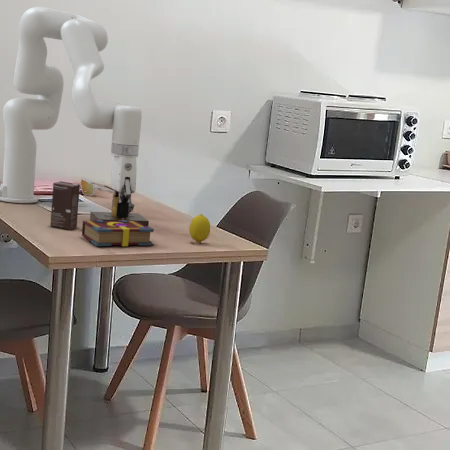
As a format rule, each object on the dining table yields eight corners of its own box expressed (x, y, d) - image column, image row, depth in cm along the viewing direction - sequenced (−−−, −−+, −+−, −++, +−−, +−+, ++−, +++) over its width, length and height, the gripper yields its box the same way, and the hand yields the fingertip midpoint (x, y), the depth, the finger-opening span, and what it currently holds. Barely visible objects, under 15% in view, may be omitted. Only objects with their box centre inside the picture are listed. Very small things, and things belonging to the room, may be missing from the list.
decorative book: (80, 237, 193) (82, 218, 192) (138, 236, 201) (139, 218, 200) (96, 247, 183) (98, 227, 182) (156, 246, 192) (158, 227, 191)
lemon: (187, 240, 203) (190, 211, 202) (207, 242, 204) (211, 213, 202) (188, 244, 198) (191, 215, 196) (209, 246, 198) (212, 217, 197)
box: (49, 226, 201) (52, 182, 199) (58, 224, 205) (61, 180, 203) (69, 230, 199) (72, 185, 197) (77, 227, 203) (81, 184, 201)
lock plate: (98, 230, 203) (99, 218, 203) (89, 221, 213) (90, 210, 213) (147, 231, 209) (149, 220, 208) (137, 223, 219) (137, 212, 218)
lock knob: (110, 214, 212) (111, 195, 211) (125, 214, 213) (126, 196, 212) (113, 217, 208) (114, 198, 207) (128, 217, 209) (130, 199, 208)
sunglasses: (74, 189, 267) (77, 175, 266) (114, 196, 274) (117, 183, 273) (84, 196, 254) (87, 181, 254) (125, 203, 261) (129, 189, 260)
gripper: (146, 155, 201) (140, 221, 204) (129, 147, 216) (124, 210, 220) (119, 153, 198) (114, 221, 202) (104, 146, 213) (99, 209, 217)
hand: (119, 214), depth 211 cm, fingers open, 4 cm apart
